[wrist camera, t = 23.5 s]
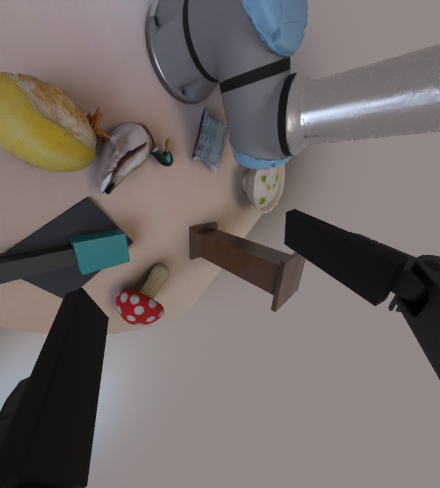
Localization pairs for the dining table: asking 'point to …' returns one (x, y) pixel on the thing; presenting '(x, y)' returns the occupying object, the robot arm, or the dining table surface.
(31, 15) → the dining table surface
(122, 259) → the teal long block
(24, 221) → the dining table surface
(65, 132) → the fruit
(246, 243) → the stand
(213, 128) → the packaged food
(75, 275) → the mat
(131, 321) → the decorative mushroom
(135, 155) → the decorative duck model
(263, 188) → the bowl
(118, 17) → the dining table surface
